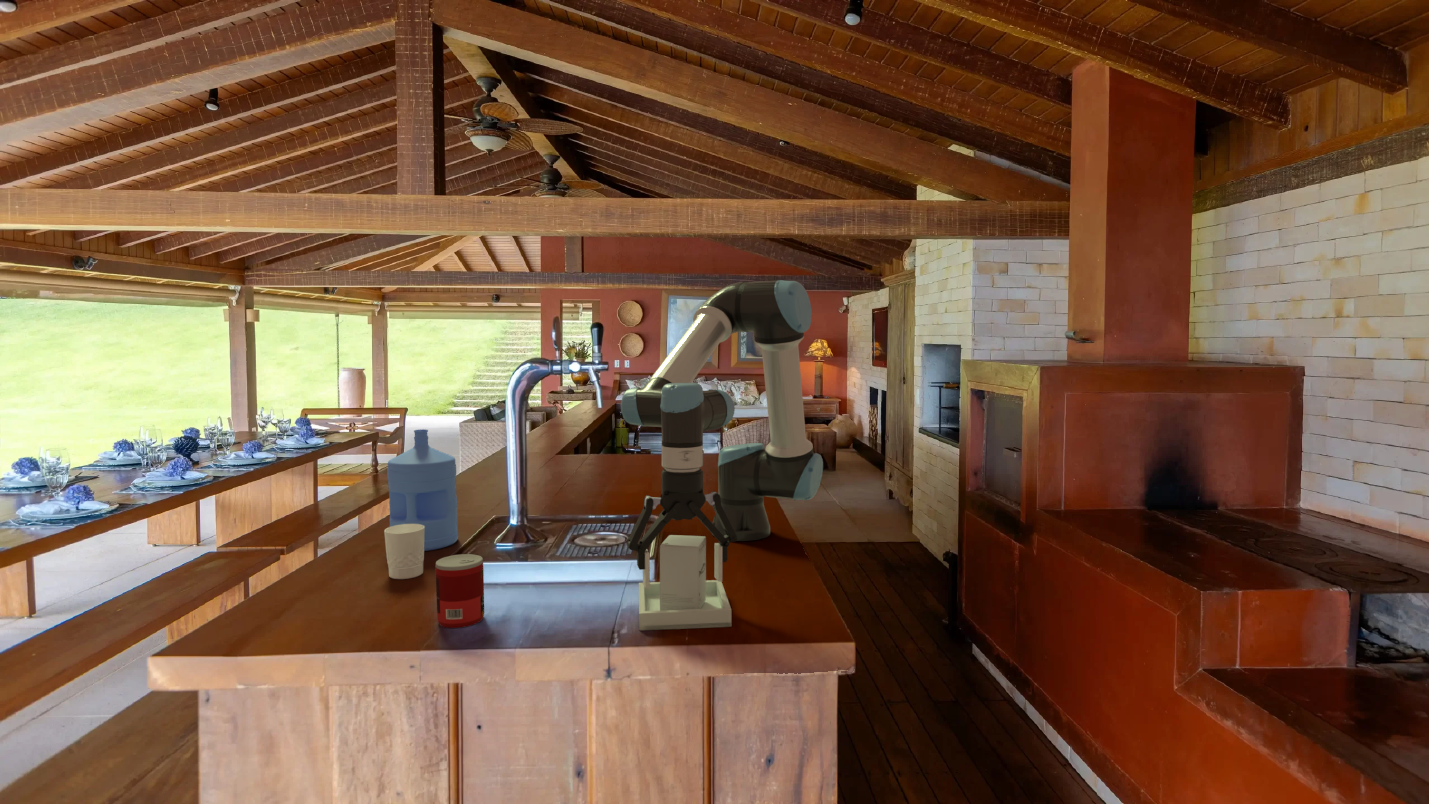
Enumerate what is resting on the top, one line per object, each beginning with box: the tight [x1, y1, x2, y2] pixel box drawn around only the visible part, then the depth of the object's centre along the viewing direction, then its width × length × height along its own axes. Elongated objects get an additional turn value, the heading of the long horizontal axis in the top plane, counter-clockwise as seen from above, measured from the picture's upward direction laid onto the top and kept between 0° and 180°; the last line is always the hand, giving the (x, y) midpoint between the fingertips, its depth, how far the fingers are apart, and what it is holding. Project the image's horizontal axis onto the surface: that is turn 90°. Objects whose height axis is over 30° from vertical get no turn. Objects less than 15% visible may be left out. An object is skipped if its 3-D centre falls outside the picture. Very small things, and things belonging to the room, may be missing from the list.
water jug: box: [386, 428, 459, 552], centre depth 178 cm, size 16×16×28 cm
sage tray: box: [638, 579, 732, 631], centre depth 134 cm, size 16×16×3 cm
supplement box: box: [659, 534, 707, 611], centre depth 134 cm, size 7×7×13 cm
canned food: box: [435, 553, 485, 629], centre depth 130 cm, size 8×8×11 cm
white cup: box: [383, 524, 425, 580], centre depth 155 cm, size 8×8×10 cm
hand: (682, 582), depth 134 cm, fingers open, 13 cm apart
